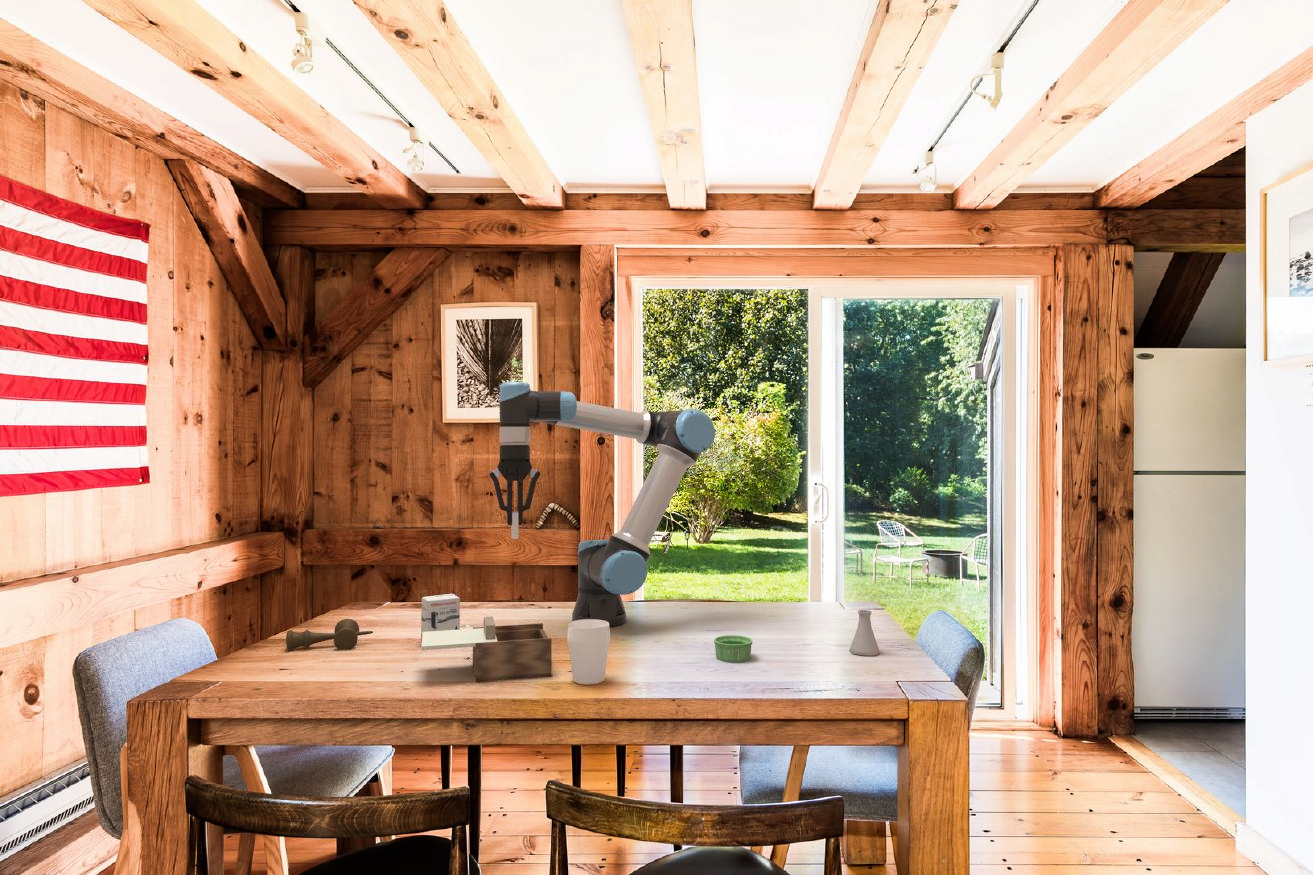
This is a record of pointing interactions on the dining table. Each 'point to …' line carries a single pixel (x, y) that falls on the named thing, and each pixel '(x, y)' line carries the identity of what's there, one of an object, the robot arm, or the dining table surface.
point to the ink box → (440, 613)
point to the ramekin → (733, 648)
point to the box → (514, 654)
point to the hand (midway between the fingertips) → (514, 538)
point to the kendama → (328, 636)
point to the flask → (864, 637)
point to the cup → (588, 650)
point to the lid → (459, 637)
